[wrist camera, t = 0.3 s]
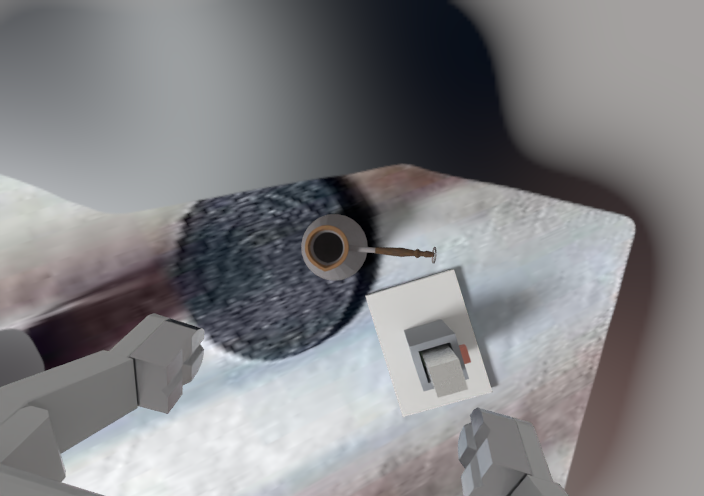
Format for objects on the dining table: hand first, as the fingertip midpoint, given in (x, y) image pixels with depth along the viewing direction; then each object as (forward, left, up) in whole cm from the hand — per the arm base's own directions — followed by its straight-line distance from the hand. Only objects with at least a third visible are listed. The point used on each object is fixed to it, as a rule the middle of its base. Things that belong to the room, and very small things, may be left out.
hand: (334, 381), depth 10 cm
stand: (-15, -6, -52) cm, 55 cm away
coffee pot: (+4, 0, -53) cm, 53 cm away
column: (-15, -6, -51) cm, 54 cm away
